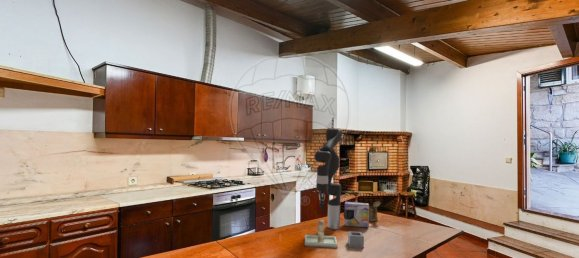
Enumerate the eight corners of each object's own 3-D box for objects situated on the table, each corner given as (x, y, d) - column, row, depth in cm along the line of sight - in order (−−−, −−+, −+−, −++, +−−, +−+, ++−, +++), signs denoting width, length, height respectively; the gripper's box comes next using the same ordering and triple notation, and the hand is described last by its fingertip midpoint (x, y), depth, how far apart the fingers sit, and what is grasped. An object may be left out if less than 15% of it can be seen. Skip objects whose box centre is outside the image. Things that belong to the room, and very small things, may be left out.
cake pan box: (343, 225, 230) (343, 202, 230) (343, 223, 234) (344, 201, 235) (368, 228, 224) (369, 204, 225) (368, 226, 229) (369, 203, 229)
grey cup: (347, 242, 191) (348, 231, 192) (361, 243, 191) (361, 232, 191) (349, 247, 183) (349, 235, 183) (363, 247, 182) (363, 236, 182)
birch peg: (317, 240, 190) (318, 219, 191) (323, 240, 190) (324, 220, 191) (317, 242, 186) (318, 221, 187) (323, 242, 186) (324, 221, 187)
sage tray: (305, 238, 196) (305, 234, 196) (335, 240, 195) (335, 236, 195) (304, 246, 182) (304, 242, 182) (337, 248, 181) (337, 243, 181)
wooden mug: (372, 223, 237) (373, 200, 238) (364, 218, 251) (365, 197, 251) (382, 223, 239) (383, 200, 240) (374, 218, 253) (374, 197, 253)
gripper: (316, 180, 197) (315, 205, 196) (316, 183, 182) (315, 210, 182) (327, 181, 196) (326, 205, 196) (328, 184, 182) (328, 210, 182)
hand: (321, 207), depth 189 cm, fingers open, 8 cm apart
